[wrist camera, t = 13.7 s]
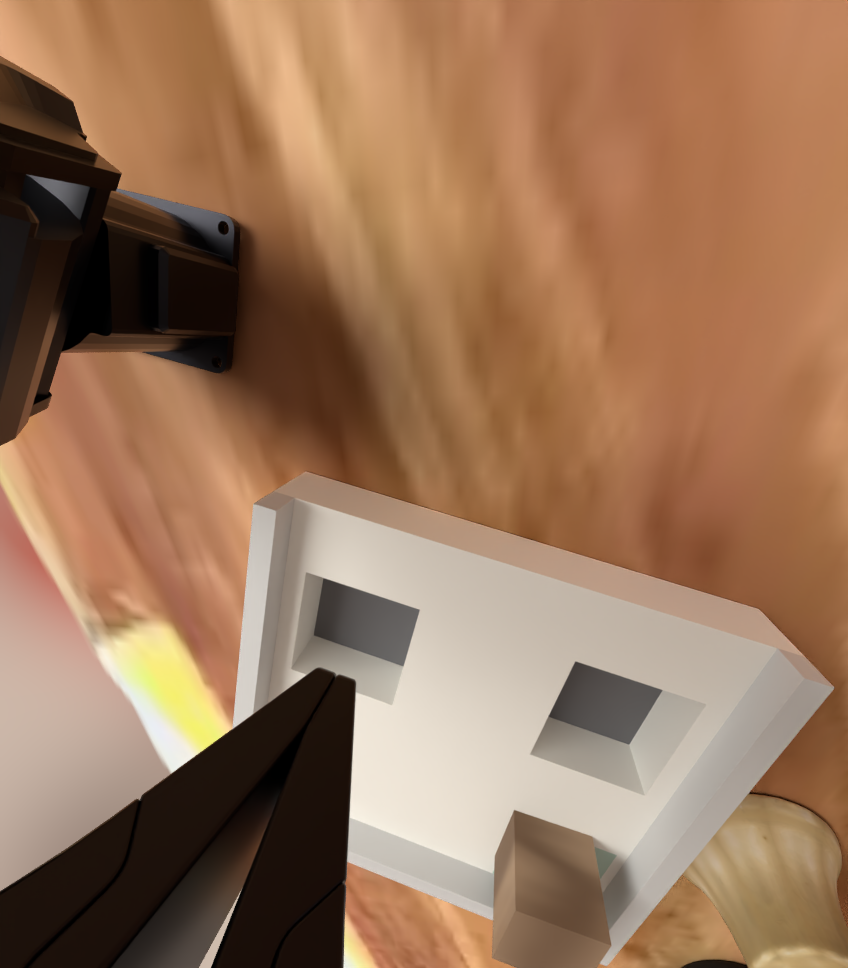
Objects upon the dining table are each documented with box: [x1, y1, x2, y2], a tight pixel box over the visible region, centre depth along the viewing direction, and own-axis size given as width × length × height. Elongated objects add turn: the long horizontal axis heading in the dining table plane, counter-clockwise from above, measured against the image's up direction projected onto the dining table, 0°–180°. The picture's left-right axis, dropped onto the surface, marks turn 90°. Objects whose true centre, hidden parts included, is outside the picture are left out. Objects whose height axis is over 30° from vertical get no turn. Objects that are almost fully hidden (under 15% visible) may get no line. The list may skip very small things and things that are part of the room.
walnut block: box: [492, 810, 612, 968], centre depth 19 cm, size 4×4×4 cm
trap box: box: [233, 471, 834, 966], centre depth 21 cm, size 22×20×4 cm
